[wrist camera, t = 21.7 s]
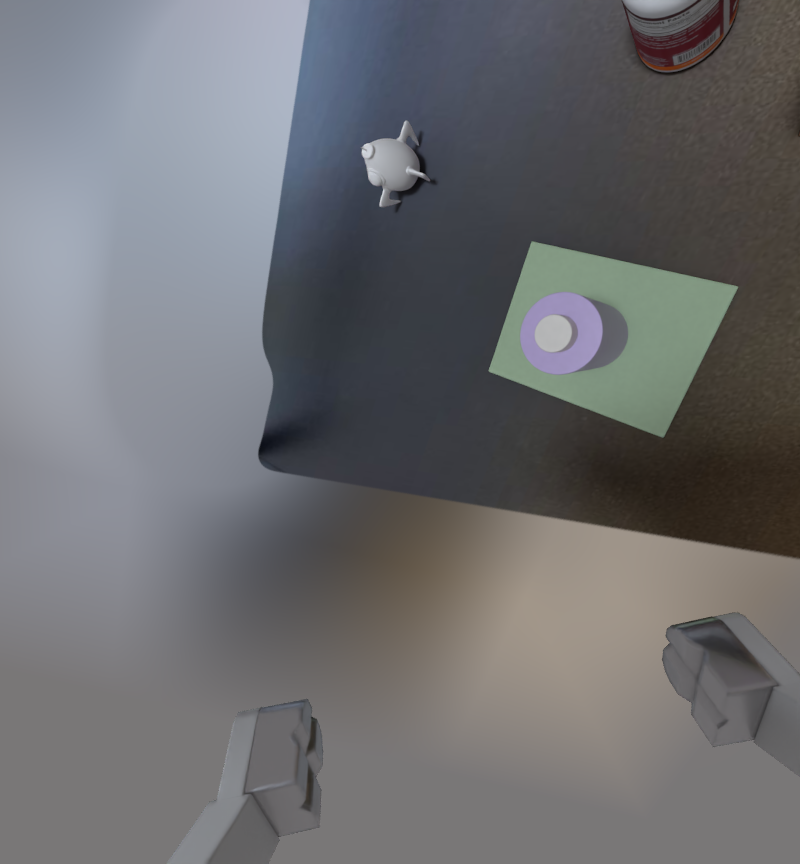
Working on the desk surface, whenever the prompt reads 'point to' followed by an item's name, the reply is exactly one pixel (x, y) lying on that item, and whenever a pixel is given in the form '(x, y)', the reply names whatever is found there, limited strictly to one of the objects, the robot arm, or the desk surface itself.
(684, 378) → the mat
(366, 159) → the rocket toy
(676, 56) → the pill bottle
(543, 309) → the lotion bottle
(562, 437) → the desk surface
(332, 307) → the desk surface
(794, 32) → the desk surface
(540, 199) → the desk surface
